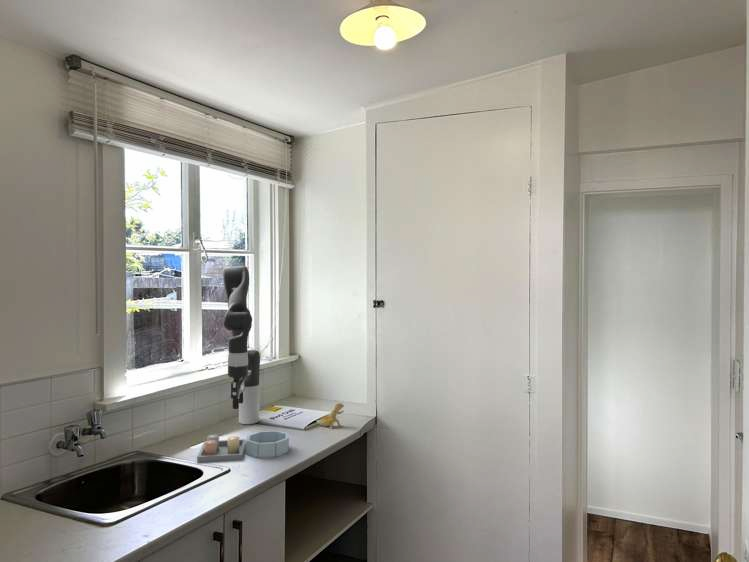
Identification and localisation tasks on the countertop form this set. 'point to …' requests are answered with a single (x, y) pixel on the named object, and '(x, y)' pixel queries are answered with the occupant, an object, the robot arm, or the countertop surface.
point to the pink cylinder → (214, 437)
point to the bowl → (267, 444)
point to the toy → (331, 417)
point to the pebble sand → (233, 445)
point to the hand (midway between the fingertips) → (238, 405)
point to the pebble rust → (210, 447)
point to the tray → (222, 453)
